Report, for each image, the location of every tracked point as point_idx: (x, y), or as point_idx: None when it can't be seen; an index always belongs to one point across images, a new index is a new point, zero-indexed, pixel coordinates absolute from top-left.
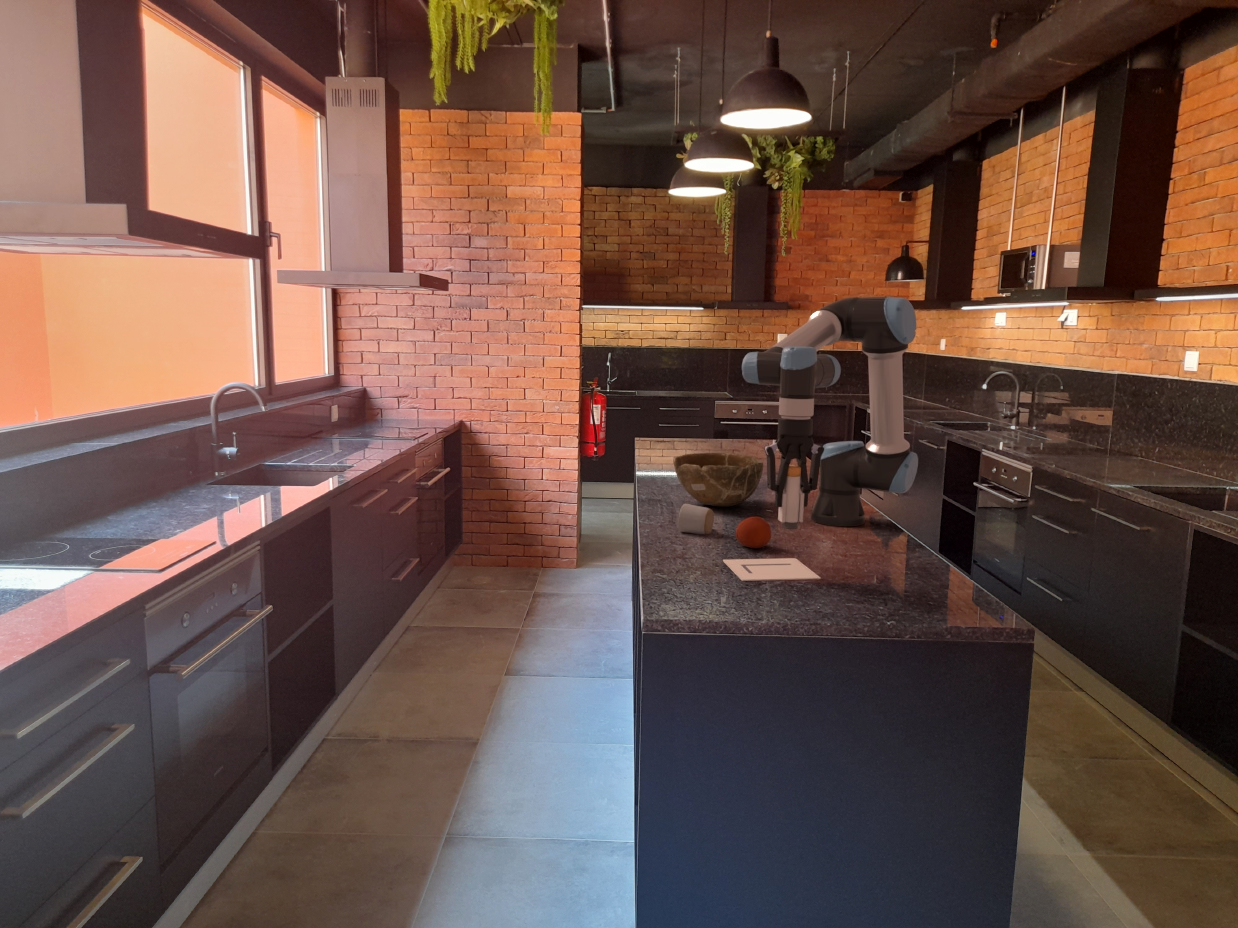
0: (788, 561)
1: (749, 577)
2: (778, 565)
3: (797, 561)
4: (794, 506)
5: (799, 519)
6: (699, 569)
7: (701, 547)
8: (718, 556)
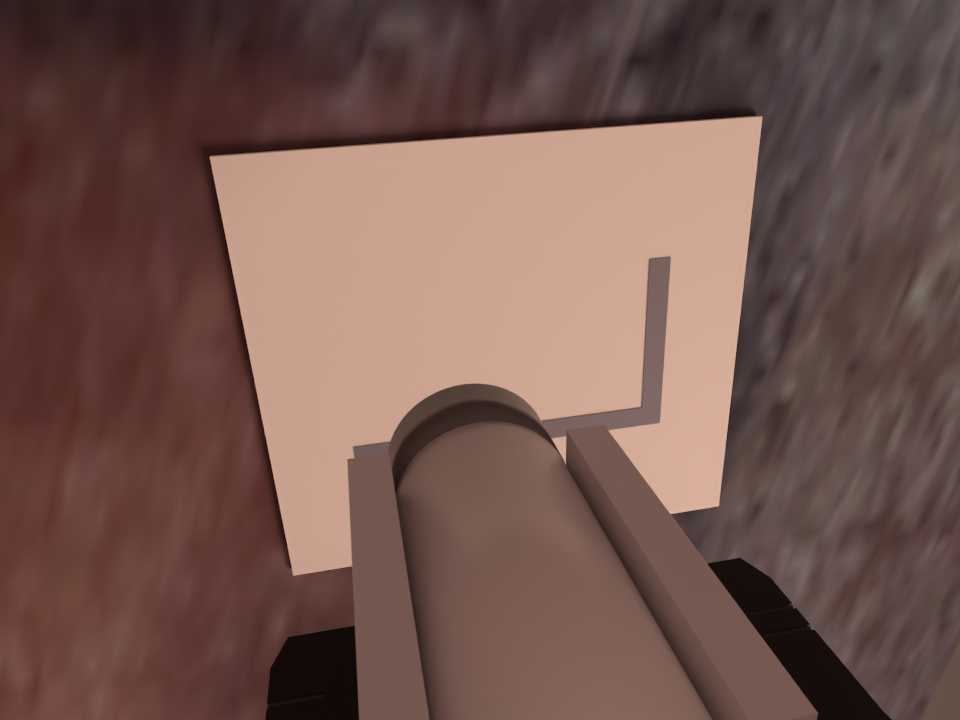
0: None
1: (701, 165)
2: None
3: (296, 514)
4: (521, 551)
5: (392, 477)
6: (891, 345)
7: None
8: None
